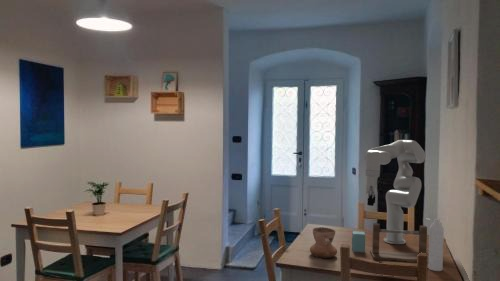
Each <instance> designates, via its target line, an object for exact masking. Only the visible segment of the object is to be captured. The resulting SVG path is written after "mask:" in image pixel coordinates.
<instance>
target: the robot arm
mask: <svg viewBox="0 0 500 281" xmlns="http://www.w3.org/2000/svg"><path fill="white" fill-rule="evenodd" d="M364 159H365V177H367V178H366V186H365V187H366V188H365V189H366V190H365V194H366V195H367V202H366V203H367V206H372V207H373V206H374V205H375V204H376V193H377V191H378V190H377V188H378V178H379V177H380V174H381V165H384V166H385V165H387V164H389V163H390V162H391V161H392V159H397V164H398V171H397V173H396V177H395V178H394V180H393V188H394V189H389V190H388V191H387V192H386V193H385V202H386V230H404V216H405V215H404V211H403V209H402V208H407V209H409V208H410V209H412V208H414V207H415V206H416V204H417V202H418V198H419V196H420V193H421V190H422V180H421V179H420V178H419V177H416V176H413V174H414V171H413V168H412V166H411V165H410V163H413V164H422V163H424V162H425V161H426V152H425V150H424V149H423V148H422V146H421V145H420V144H419V143H418V142H417V141H416V140H412V139H398V140H396V141H394V142H391V143H390V144H385V145H381V146H377V147H372V148H371V149H368V150H367V151H366V153H365V155H364ZM385 233H386V236H385V237H383V241H384V242H385V243H387V244H391V245H404V244H406V239H404V233H387V232H385Z"/></svg>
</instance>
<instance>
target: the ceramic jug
mask: <svg viewBox="0 0 500 281" xmlns="http://www.w3.org/2000/svg"><path fill="white" fill-rule="evenodd" d="M336 232H337V231H336V230H335V229H332V228H329V227H323V226H319V227H318V226H317V227H314V228H312V235H313V238H314V241H315V243H313V244H312V245H311V246H310V248H309V252H310V253H311V255H313V256H314V257H316V258H320V259H330V258H334V257H336V255H337V254H338V249H337V248H336V247H335V245H333V244H332V243H333V241H334V239H335V237H336Z"/></svg>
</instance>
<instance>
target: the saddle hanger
mask: <svg viewBox="0 0 500 281" xmlns="http://www.w3.org/2000/svg"><path fill="white" fill-rule="evenodd" d="M351 250H352V252H353V253H366V233H365V231H358V230H357V231H356V230H353V231H352V232H351Z"/></svg>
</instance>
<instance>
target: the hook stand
mask: <svg viewBox="0 0 500 281" xmlns="http://www.w3.org/2000/svg"><path fill="white" fill-rule="evenodd" d="M380 225H381V224H380V223H377V222H375V223H372V245H371V246H372V249H369V253H370V255H371V258H372V260H374V261H375V260H376V261H387V260H396V261H395V262H404V261H407V262H406V263H418V262H417V255H418V254H419V253H421V252H422V253H426V254H427V248H428V247H427V246H428V244H427V243H428V241H427V240H428V239H427V238H428V236H427V235H428V227H427V226H426V225H419V230H404V229H403V230H387V229H382V228H381V229H380ZM386 232H387V233H403V234H409V235H411V234H412V235H418V237H419V239H418V240H419V241H418V252H413V251H394V250H393V251H392V250H380V233H386ZM415 261H416V262H415Z"/></svg>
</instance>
